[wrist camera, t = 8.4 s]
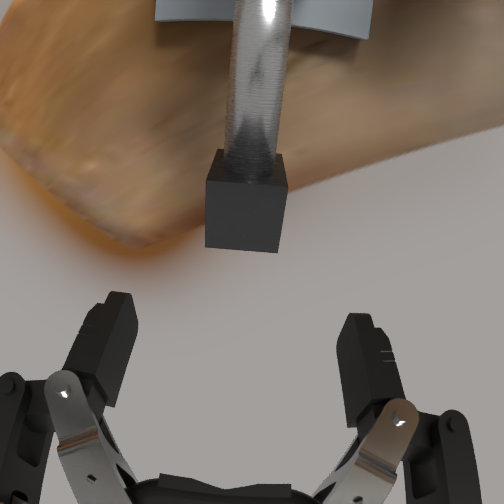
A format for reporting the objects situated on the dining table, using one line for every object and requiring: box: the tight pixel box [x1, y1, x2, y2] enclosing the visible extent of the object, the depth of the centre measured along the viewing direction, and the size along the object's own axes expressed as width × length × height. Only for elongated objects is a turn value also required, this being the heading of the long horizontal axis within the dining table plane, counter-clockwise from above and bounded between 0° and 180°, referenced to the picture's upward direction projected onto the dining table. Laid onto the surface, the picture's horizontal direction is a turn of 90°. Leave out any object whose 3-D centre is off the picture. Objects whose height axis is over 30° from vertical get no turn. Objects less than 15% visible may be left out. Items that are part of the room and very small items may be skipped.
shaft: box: [205, 0, 294, 253], centre depth 15 cm, size 4×17×5 cm, turn 175°
